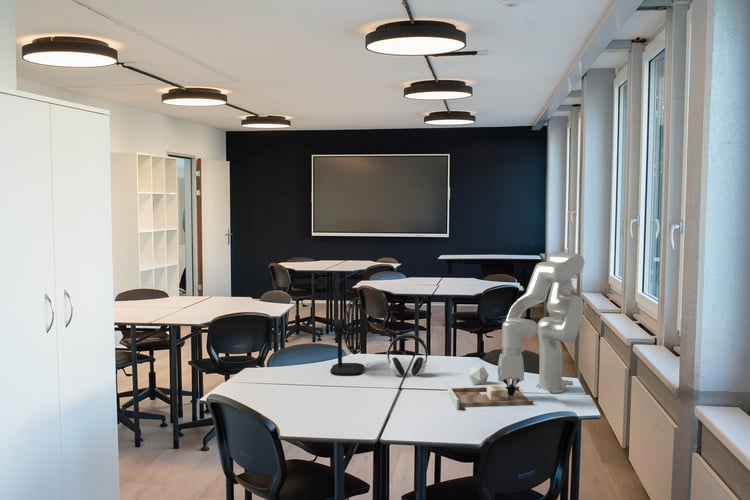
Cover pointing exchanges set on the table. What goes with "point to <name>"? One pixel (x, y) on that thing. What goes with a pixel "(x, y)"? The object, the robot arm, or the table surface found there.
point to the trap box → (474, 398)
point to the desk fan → (340, 329)
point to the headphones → (419, 362)
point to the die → (478, 375)
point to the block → (497, 393)
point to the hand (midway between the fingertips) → (510, 395)
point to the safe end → (453, 397)
